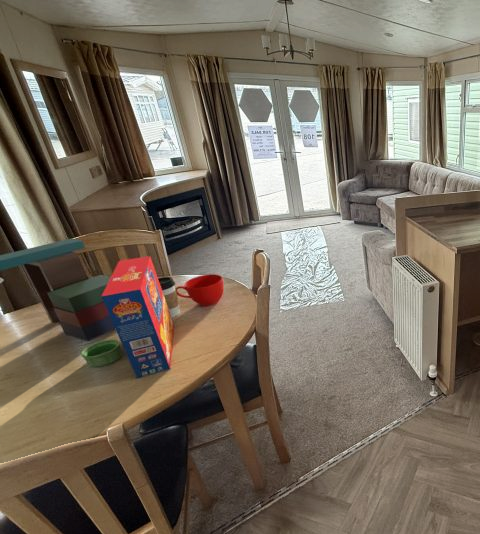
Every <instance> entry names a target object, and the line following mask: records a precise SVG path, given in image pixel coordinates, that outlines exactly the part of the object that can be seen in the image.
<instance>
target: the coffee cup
mask: <svg viewBox="0 0 480 534" xmlns="http://www.w3.org/2000/svg"><path fill="white" fill-rule="evenodd" d="M158 280H159V283H160V286H161V289H162V292H163V294H164V297H165V300H166V303H167V306H168V309H169V312H170V315H171V318H172V319H173V318H174V317H177V316H178V315H180V314H181V310H180V304H179V298H178V295H177V293H176V288H177V287H176V286H175V285H176V282H175V281H174V279H173V277H172V276H162V277H158Z"/></svg>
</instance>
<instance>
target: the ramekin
mask: <svg viewBox="0 0 480 534" xmlns="http://www.w3.org/2000/svg"><path fill="white" fill-rule="evenodd" d="M80 355H81V357H82V358H83V359H84V360H85V362H86V363H87V365H88V366H90V367H94V368H95V367H97V368H98V367H102V366H106V365H110V364H112V363H114V362H115V361H118V359H120V358H121V357H122V355H123V351H122V348H121V340H118V339H104V340H101V341H98V342H95V343H92V344H89V346H87V347H85V348H84V349H83V350H82V351H81V353H80Z"/></svg>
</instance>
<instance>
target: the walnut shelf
mask: <svg viewBox="0 0 480 534" xmlns="http://www.w3.org/2000/svg"><path fill="white" fill-rule="evenodd" d="M21 268H22V269H23V271H24V273H25V275H26V277H27V278H28V281H29V283H30V284H31V287H32V288H33V290H34V293H35V294H36V296H37V298H38V300H39V302H40V304H41V305H42V308H43V310H44V311H45V313H46V315H47V318H48V319H49V321H50V323H52V324H56V323H59V321H60V320H59V318H58V316H57V314H56V313H55V311H54V309H53V308H54V306H53V304H52V302H51V300H50V298H49V296H48V294H47V293H48V292H51V291H54V290H57V289H60V288H63V287H66V286H69V285H72V284H75V283H78V282H81V281H84V280H87V279H89V277H88V274H87V271H86V270H85V267H84V264H83V263H82V261H81V257H80V256H79V254H78V252H76V251H72V252H68V253H64V254H61V255H57V256H53V257H49V258H46V259H42V260H38V261H34V262H31V263H27V264H23V265H21Z"/></svg>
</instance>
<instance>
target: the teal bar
mask: <svg viewBox="0 0 480 534" xmlns="http://www.w3.org/2000/svg"><path fill="white" fill-rule="evenodd" d="M83 249H86V246H85V244H84V242H83V240H82V239H78V238H72V237H71V238H67V239H63V240H59V241H55V242H50V243H46V244H42V245H38V246H33V247H29V248H26V249H21V250H17V251H13V252H8V253H4V254H0V272H1V271H4V270H8V269H12V268H15V267H19V266H22V265H23V264H27V263H31V262H34V261H38V260H42V259H46V258H49V257H53V256H57V255H61V254H64V253H68V252H76V251H79V250H83Z"/></svg>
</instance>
